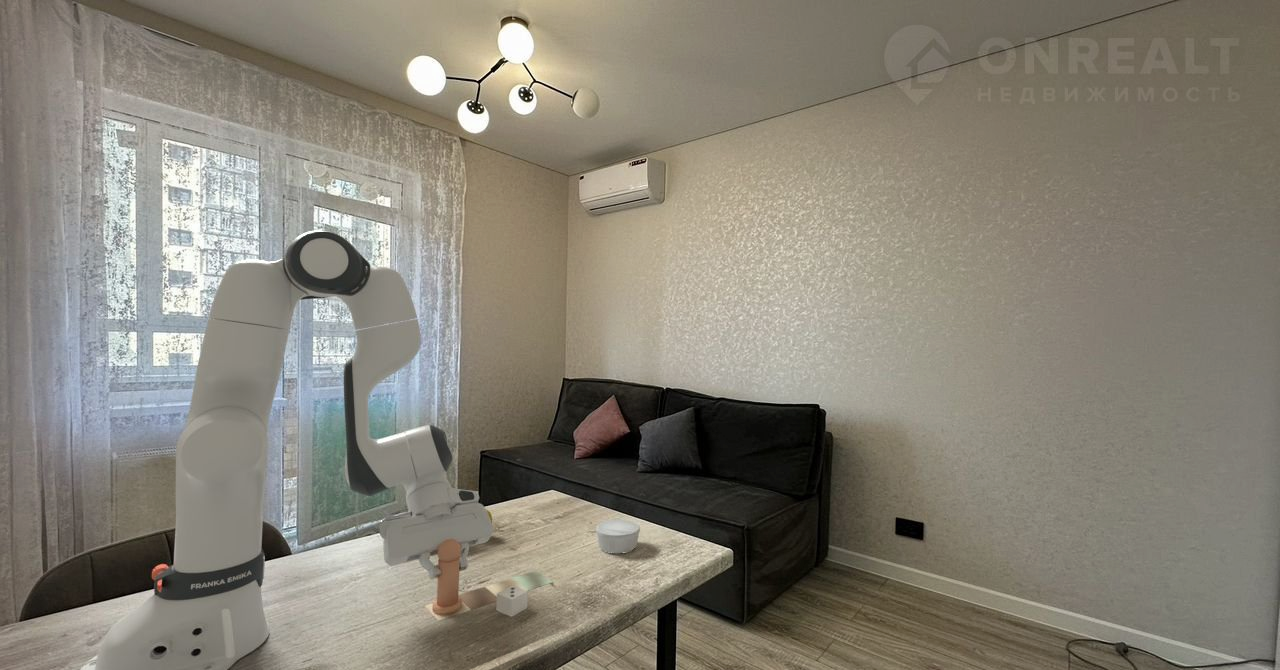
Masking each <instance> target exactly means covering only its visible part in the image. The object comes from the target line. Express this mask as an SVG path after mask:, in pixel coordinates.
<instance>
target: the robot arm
mask: <svg viewBox="0 0 1280 670" xmlns="http://www.w3.org/2000/svg"><path fill="white" fill-rule="evenodd" d="M213 297H214V298H213V301H212V303H211V307H210V311H209V314H208V317H207V318H208V319H207V323H206V327H205V330H204V335H203V339H202V344H201V348H200V353H199V359H198V361H197V367H196V372H195V379H194V385H193V389H192V394H191V395H192V396H191V401H190V406H189V410H188V416H187V419H186V420H187V421H186V424H185V426H184V430H183V431H182V433H181V434H180V435H179V437H178V440H177V443H176V449H175V452H176V453H175V529H174V530H175V531H174V532H175V533H174V549H173V550H174V551H173V564H172V565H169V566H168V564H165V563H161V564H158V565H156V566H155V567H154V568H153V569H152V571H151V579H152V580H153V581H154V583H153V585H154V586H153V593H154V594H153V595H151V596H150V597H149V598H147V599H146V600H145V601H144V602H142V603H140V604H139V605H138V606H137V607H135V608H133V609H132V610H131V611H129V613H127V614H126V615H124V616H123V617H122V618H120V619H119V620H117V621H116V622H115V623H114V624H113V625H112V626H111V628H110V629H109V630H108V632H107V633H106V635H105V636H104V639H103V640H102V643H101V645H100V647H99V650H98V652H97V654H96V655H95V656H93V657H92V658H91V659H89V660H88V661H87V662H86V663H85V664H83V666H82V667H81V668H79V670H229V669H230V668H231V667H232V666H233V665H234V664H235V663H236V662H237V661H239V660H240V659H242V658H244V657H245V656H246V655H248V654H250V653H251V652H253V651H255V650H257V648H259V647H260V646H261V645H262V644H263V643H264V642H265V641H266V640H267V639H268V637H269V636H270V629H269V626H268V623H267V620H266V616H265V612H264V606H263V597H262V586H263V582H264V579H265V567H266V566H265V562H266V561H265V560H266V558H265V557H266V556H265V552H264V549H263V548H262V543H263V542H262V540H263V521H264V503H265V502H264V501H265V493H266V491H265V490H266V476H267V463H268V448H269V436H268V424H269V420H270V416H271V411H272V408H273V403H274V399H275V397H276V396H275V395H276V392H277V387H278V385H279V384H278V383H279V380H280V378H281V372H282V367H283V362H284V357H285V352H286V348H287V343H288V338H289V335H290V334H289V333H290V329H291V326H292V325H291V324H292V318H293V314H294V310H295V308H296V306H297V304H298V302H300V301H301V300H302V301H303V300H310V299H311V300H313V299H326V298H330V297H335V298H338V299H340V300H341V301H343V302H344V304H345V305H346V306H347V308H348V310H349V312H350V314H351V317H352V323H353V327H354V330H355V334H356V344H355V345H356V347H355V350H354V353H353V355H352V357H350V358H349V359H348V360H347V361H346V362H345V365H344V369H343V402H344V403H343V404H344V420H345V421H344V423H345V439H346V440H345V441H346V453H345V460H344V475H345V480H346V483H347V485H348V486H349V487H350V490H351V491H353V492H355V493H358V494H359V495H363V496H368V497H373V496H375V495H377V494H380V493H382V492H384V491H387V490H389V489H390V488H393V487H397V486H399V485H402V487H403V488H404V489H405V492H406V495H405V503H406V506H407V511H405V512H401V513H397V514H389V515H387V516H385V518H382V519H381V520H380V521H379V523H378V530H379V531H378V532H379V535H380V537H381V538H382V539H383V546H382V547H383V557H384V563H386V564H387V566H390V567H394V566H397V565H401V564H406V563H409V562H413V561H416V560H418V562H419V564H420V565H419V566H421V567H422V568H423V569H425V570H426V572H428V574H429V575H428V576H429V578H430V580H434V579H438V577H439V576H440V575H441V570H440V566H439V565H438V564H434V563H433V562H432V561H431V560H430V559H431V557H434V556H438V548H439V546H440V544H441V543H442V542H443V541H445V540H447V539H455V540H457V541H458V542H459V543H460V545H461V554H460V555H461V557H460V568H459V572H461V571H462V572H464V571H466V570H467V569H468V567H469V562H468V559H467V558H468V553H469V551H470V547H473V546H478V545H481V544H486V543H487V542H488V541H490V539H491V538H492V536H493V533H494V525H493V521H492V522H491V520H490V517H489V515H488V513H487V511H486V509H487V508H486V507H485V506H484V505H483V504H482V503H480V502H479V500H480V495H479V493H478V491H476V490H469V489H468V490H467V489H459V488H455V487H452V484H451V483H450V481H449V480H448V478H447V472H448V470H449V468H450V467H451V464H452V462H453V454H452V451H451V450H450V447H449V444H448V440H447V435H446V433H445V431H444V430H442V429H441V428H439V427H437V426H435V425H432V424H429V425H423V426H422V425H421V426H418V427H415V428H411V429H407V430H405V431H403V432H399V433H396V434H392V435H388V436H384V437H381V438H377V439H376V438H375V439H374V438H372V437H371V435H370V432H371V431H370V417H369V415H370V414H369V413H370V412H369V399H370V395H371V393H372V391H373V389H375V387H376V386H378V385H379V384H380V383H381V382H383V381H384V380H386V379H387V378H389V377H391V376H392V375H393V374H395V373H397V372H399V371H400V370H401V369H403V368H405V367H406V366H407V365H409V364H410V363H411V362H412V361H413V360H414V359H415V357H417V354H418V353H419V351H420V349H421V346H422V336H421V335H422V334H421V328H420V323H419V319H418V316H417V312H416V308H415V305H414V302H413V298H412V296H411V293H410V291H409V288H408V286H407V284H406V282H405V279H404V278H403V276H402V274H400V273H399V272H398V270H395V269H393V268H391V267H386V266H371V264H370V262H368V260H366V258H365V257H364V256H363V255H362V254H361V253H360V252H359V251H358V250H357V249H356V248H355V247H354V245H352V244H351V242H350V241H348V240H347V239H346V238H345V237H343V236H341V235H340V234H337V233H335V232H332V231H328V230H311V231H307V232H304V233H302V234H300V235H298V236H297V237H296V238H294V239H293V240H292V241H291V242H290V243H289V246H288V247H287V249H286V253H285V254H284V255H283V257H282V258H280V259H278V260H275V261H266V260H261V259H243V260H239V261H235V262H234V263H231V265H230V266H229V267H228V268H227V269H226V271H225V273H224V274H223V277H222V279H221V281H220V283H219V285H218V287H217V290H216V292H215V296H213ZM92 663H96V664H94V665H90V664H92Z"/></svg>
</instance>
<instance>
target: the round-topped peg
mask: <svg viewBox="0 0 1280 670" xmlns="http://www.w3.org/2000/svg"><path fill="white" fill-rule="evenodd" d="M460 555H462V554H461V545H460V543H459V542H458V541H457V540H455V539H447V540H445V541H443V542H442V543H441V544H440V546H439V548H438V555H437V556H438V562H437V565H439V566H440V570H441V575H440V576H439V577H438V578H437V582H436V583H437V585H436V586H437V587H436V599H435V600H434V601H433V602H432V603H433V606H432V611H433V612H434V613H435V614H439V615H446V614H451V613H454V612H457V611H458V610H460V609H461V607H462V598H461V597H459V596H458V595H460V594H459V591H460V590H459V589H460V571H459V568H460V559H461V557H460Z"/></svg>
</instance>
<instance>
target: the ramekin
mask: <svg viewBox="0 0 1280 670" xmlns="http://www.w3.org/2000/svg"><path fill="white" fill-rule="evenodd" d="M640 532H641V527H640V525H639V524H638V523H637V522H634V521H631V520H626V519H610V520H605V521H602V522H600V523H598V524H597V525H596V527H595V533H596V536H597V545H598V547H599V549H600V550H601V549H602V550H603V551H602V550H601V551H602V552H604V551H606V552H610V553H611V552H612V553H623V552H629V551H631V550H633V549H634V548H635V549H636V548H637V546H638V545H637V544H638V540H639V539H638V538H639V534H640ZM635 549H634V550H635ZM634 550H633V551H634ZM606 552H605V553H606ZM631 552H632V551H631ZM610 553H609V554H610ZM629 553H630V552H629Z"/></svg>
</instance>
